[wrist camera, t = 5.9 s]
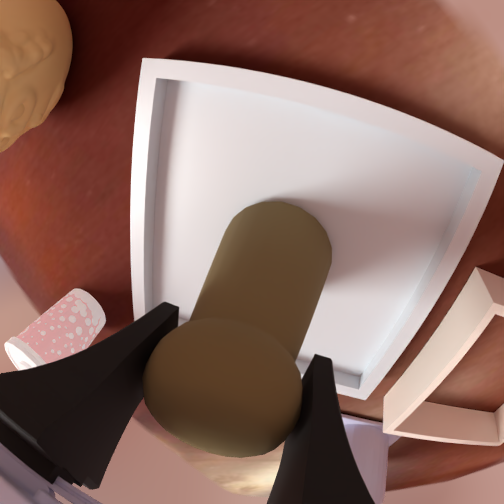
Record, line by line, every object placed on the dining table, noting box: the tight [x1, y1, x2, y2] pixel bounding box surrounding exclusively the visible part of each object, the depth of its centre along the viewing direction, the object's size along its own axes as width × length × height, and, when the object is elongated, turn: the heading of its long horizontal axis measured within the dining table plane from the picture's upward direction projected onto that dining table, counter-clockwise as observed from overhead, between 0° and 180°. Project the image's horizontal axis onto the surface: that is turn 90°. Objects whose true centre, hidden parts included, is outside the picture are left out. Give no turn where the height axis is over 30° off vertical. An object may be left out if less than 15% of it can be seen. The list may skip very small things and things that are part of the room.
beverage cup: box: [5, 289, 106, 370], centre depth 22 cm, size 6×6×14 cm
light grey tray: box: [130, 58, 504, 400], centre depth 18 cm, size 18×18×2 cm
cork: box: [142, 201, 332, 458], centre depth 13 cm, size 6×6×11 cm
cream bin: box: [383, 267, 504, 446], centre depth 17 cm, size 13×13×4 cm
